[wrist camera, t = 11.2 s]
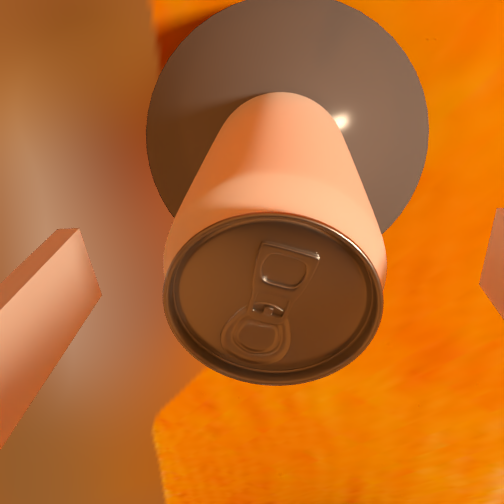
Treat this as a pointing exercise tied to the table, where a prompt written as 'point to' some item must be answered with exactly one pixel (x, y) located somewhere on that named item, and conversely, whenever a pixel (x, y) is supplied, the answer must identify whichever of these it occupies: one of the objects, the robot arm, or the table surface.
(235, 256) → the can
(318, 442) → the table surface
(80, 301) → the robot arm
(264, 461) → the table surface
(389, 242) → the table surface
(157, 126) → the stand
